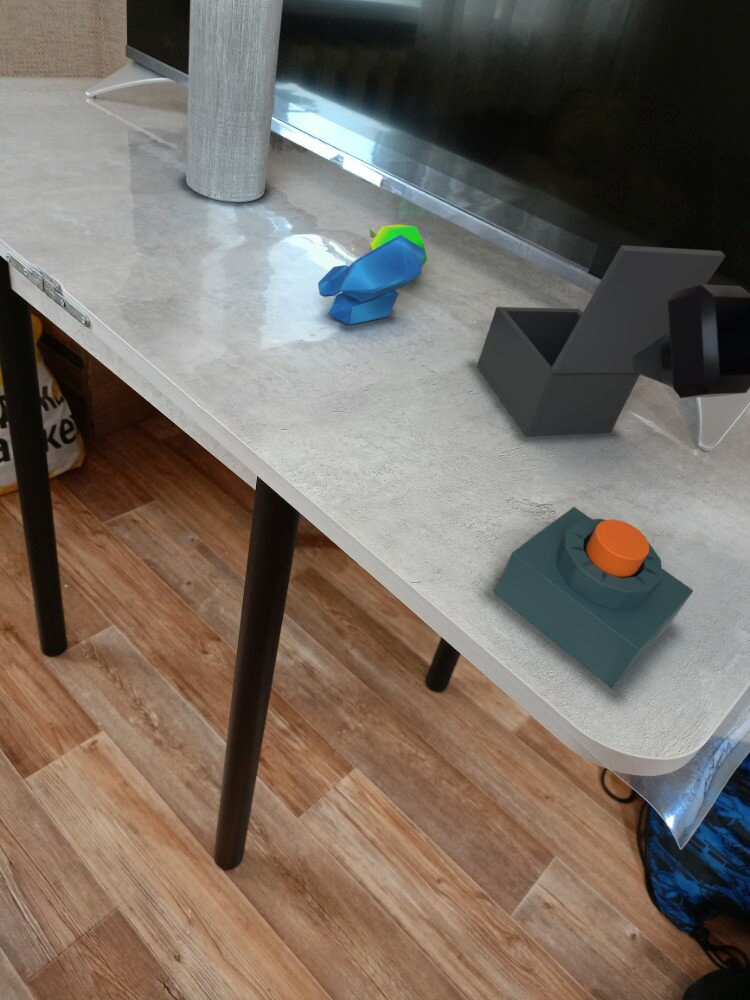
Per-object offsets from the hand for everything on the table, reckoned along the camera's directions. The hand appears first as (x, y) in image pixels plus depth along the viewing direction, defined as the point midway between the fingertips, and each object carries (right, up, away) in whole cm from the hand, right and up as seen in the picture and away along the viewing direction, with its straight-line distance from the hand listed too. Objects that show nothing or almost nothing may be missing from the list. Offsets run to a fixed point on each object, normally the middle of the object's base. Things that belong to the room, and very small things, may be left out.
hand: (681, 363), depth 54 cm
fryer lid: (-1, +5, +7) cm, 9 cm away
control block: (-7, -18, -1) cm, 19 cm away
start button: (-6, -14, -5) cm, 16 cm away
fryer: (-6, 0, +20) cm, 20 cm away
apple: (-21, +17, +34) cm, 43 cm away
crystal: (-23, +9, +25) cm, 35 cm away
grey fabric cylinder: (-41, +30, +43) cm, 67 cm away
